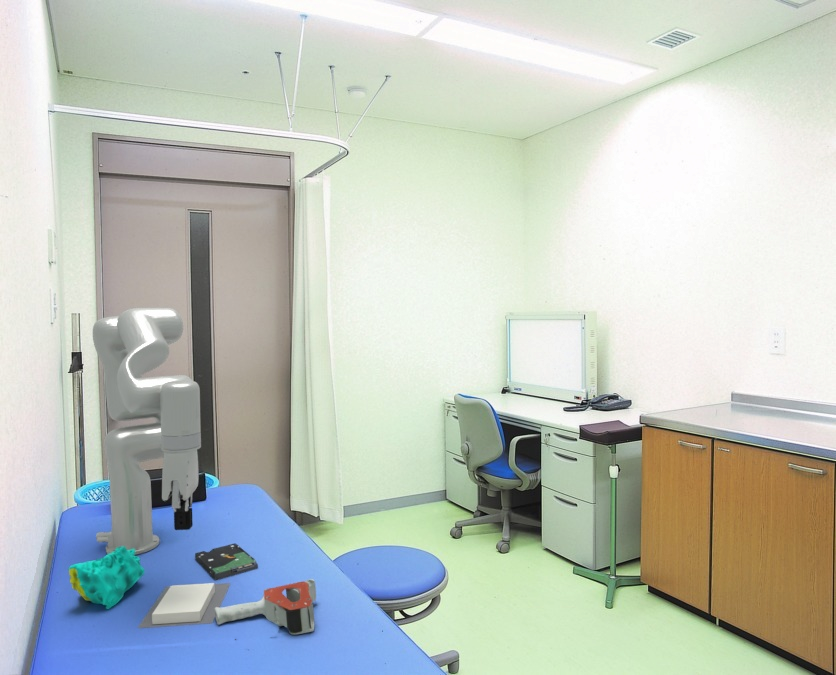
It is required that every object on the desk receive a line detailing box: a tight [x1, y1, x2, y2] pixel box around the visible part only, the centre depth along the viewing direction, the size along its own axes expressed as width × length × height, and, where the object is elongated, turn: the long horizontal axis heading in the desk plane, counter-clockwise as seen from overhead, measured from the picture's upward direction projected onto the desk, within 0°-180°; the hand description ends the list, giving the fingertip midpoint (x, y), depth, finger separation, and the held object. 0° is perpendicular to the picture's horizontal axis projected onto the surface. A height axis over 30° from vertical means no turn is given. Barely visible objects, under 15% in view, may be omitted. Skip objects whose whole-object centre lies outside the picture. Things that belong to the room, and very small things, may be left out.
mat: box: [137, 582, 231, 629], centre depth 124 cm, size 14×17×1 cm
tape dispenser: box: [214, 578, 317, 636], centre depth 119 cm, size 18×5×20 cm
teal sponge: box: [68, 546, 146, 610], centre depth 128 cm, size 15×12×13 cm
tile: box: [152, 582, 216, 624], centre depth 122 cm, size 9×2×12 cm
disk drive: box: [194, 543, 259, 581], centre depth 143 cm, size 10×3×15 cm
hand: (183, 528), depth 124 cm, fingers closed
